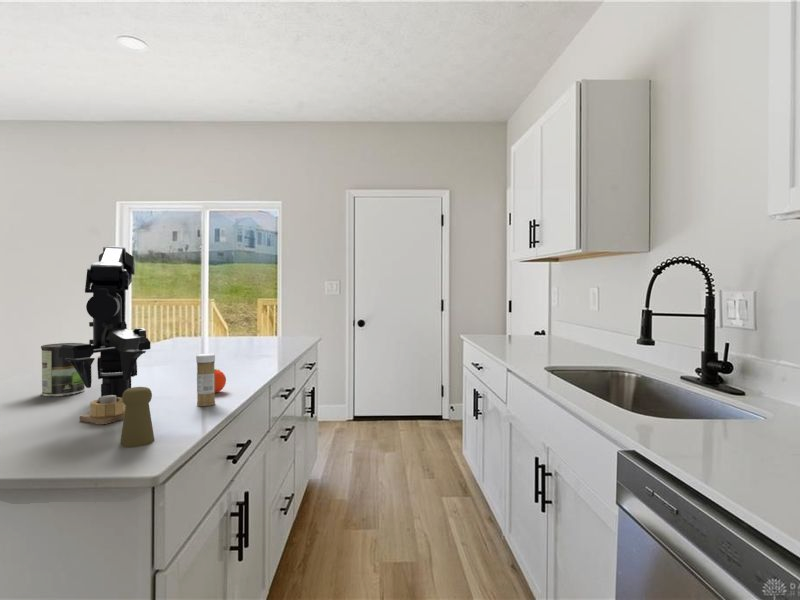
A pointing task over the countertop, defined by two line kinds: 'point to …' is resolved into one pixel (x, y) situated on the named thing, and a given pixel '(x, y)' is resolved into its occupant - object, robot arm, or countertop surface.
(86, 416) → the peg stand
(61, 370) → the coffee can
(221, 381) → the clementine
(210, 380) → the sprinkles bottle
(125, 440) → the cork
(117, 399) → the ring
